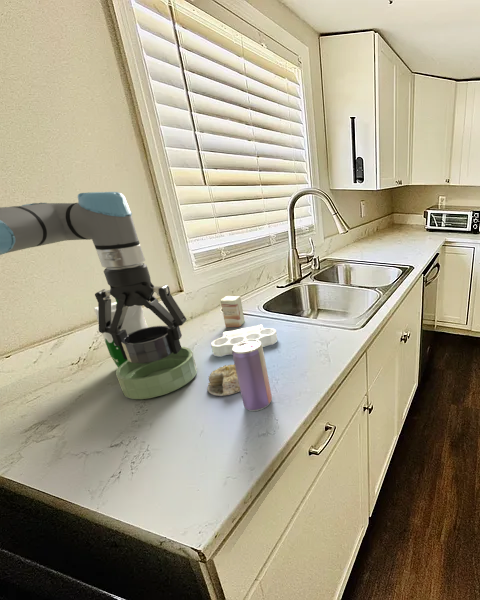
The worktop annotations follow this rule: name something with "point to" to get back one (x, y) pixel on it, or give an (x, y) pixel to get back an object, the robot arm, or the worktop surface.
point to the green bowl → (157, 375)
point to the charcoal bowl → (147, 344)
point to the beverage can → (252, 374)
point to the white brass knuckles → (243, 339)
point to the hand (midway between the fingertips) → (153, 353)
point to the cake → (223, 381)
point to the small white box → (232, 311)
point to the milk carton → (131, 323)
